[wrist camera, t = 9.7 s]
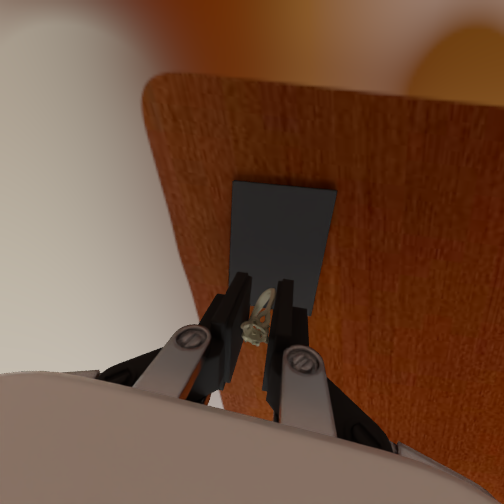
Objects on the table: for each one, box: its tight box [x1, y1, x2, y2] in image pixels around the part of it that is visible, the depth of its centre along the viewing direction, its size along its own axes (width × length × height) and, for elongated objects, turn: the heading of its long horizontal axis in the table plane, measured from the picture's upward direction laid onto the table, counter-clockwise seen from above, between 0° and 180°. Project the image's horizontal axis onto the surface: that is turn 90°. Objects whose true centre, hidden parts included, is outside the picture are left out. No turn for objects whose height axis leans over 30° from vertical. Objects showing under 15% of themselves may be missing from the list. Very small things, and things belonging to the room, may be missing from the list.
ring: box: [240, 288, 276, 346], centre depth 11 cm, size 1×3×3 cm, turn 151°
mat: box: [229, 180, 337, 316], centre depth 18 cm, size 10×7×1 cm
